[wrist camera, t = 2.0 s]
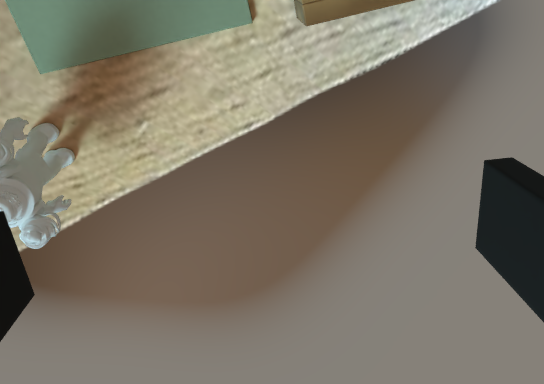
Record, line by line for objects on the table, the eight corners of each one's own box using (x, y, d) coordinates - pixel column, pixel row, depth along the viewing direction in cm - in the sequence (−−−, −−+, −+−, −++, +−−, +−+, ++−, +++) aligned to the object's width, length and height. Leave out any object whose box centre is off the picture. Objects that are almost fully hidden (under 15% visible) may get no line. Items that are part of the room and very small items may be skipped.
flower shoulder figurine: (-1, 105, 36) (-88, 172, 26) (45, 90, 36) (-25, 152, 25) (57, 196, 40) (2, 285, 30) (97, 184, 40) (57, 269, 30)
